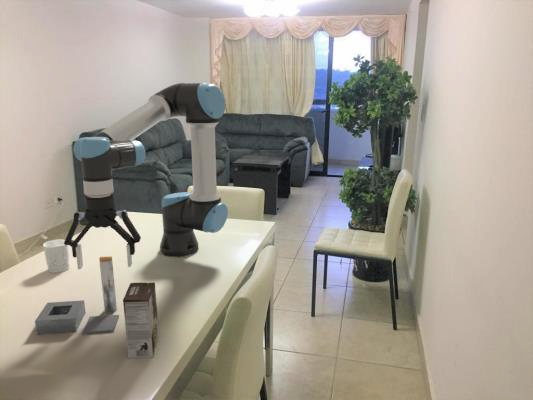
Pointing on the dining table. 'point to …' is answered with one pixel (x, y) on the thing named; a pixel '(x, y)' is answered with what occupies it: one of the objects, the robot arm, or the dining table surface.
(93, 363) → the dining table surface
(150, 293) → the coffee box
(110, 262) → the grey long rod
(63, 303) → the block
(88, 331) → the mat
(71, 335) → the dining table surface
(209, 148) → the robot arm
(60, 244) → the white cup
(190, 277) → the dining table surface
